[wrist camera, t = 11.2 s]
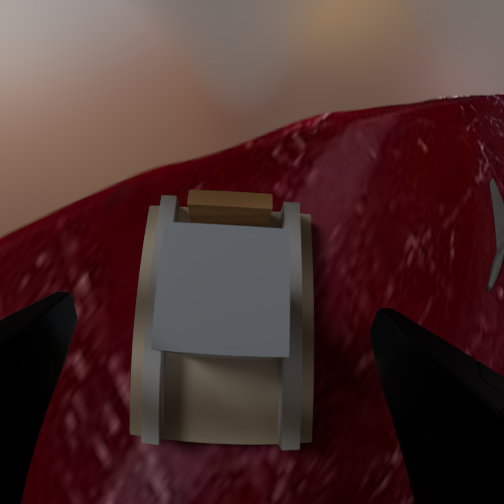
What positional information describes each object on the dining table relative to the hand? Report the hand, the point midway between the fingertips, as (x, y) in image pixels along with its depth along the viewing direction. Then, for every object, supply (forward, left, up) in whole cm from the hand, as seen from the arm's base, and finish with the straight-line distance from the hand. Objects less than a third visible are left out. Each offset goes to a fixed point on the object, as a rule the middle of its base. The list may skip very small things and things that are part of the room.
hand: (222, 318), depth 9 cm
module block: (+1, -1, -10) cm, 11 cm away
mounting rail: (+1, -1, -11) cm, 12 cm away
